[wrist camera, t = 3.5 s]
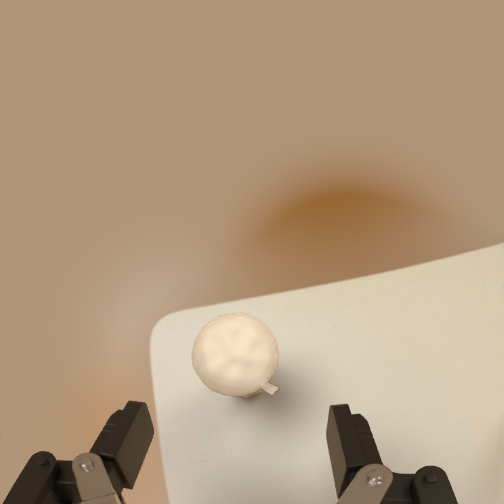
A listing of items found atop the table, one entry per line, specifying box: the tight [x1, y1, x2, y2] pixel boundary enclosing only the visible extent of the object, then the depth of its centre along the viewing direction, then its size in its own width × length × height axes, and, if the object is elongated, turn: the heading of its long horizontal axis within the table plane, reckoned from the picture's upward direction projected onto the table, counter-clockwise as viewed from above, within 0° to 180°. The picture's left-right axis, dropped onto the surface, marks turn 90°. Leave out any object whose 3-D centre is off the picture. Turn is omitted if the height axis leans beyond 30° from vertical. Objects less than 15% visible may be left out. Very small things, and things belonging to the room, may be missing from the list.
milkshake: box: [192, 313, 279, 398], centre depth 18 cm, size 4×5×10 cm
